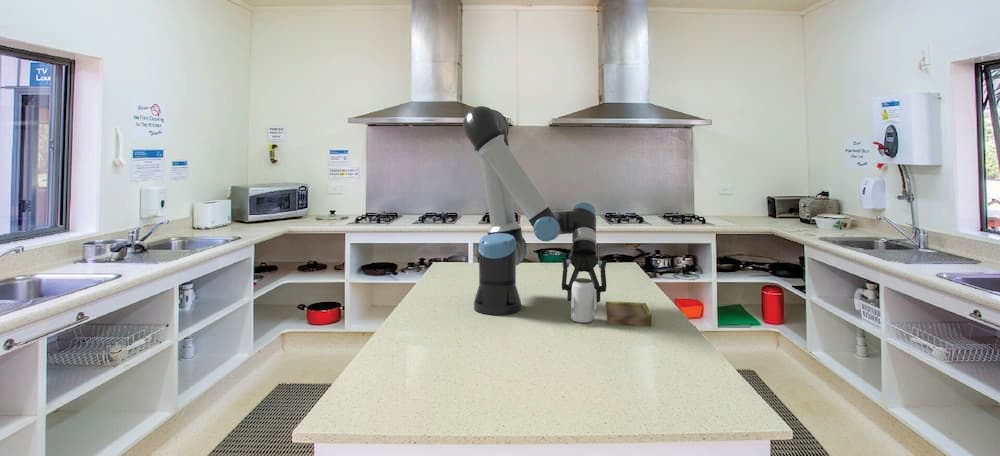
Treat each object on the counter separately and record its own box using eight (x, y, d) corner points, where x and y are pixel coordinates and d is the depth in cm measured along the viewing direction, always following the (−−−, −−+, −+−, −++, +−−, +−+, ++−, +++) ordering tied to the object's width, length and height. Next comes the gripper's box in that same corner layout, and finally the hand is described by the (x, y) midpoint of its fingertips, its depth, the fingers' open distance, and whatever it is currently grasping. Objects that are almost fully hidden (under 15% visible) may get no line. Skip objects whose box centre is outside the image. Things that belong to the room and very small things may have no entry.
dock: (608, 324, 143) (608, 312, 143) (605, 312, 155) (605, 301, 154) (651, 326, 141) (651, 314, 141) (645, 314, 153) (645, 302, 153)
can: (570, 322, 145) (571, 282, 143) (571, 316, 151) (572, 277, 149) (593, 324, 143) (594, 283, 142) (593, 317, 150) (594, 278, 148)
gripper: (613, 253, 159) (615, 318, 145) (554, 251, 161) (551, 315, 147) (615, 239, 153) (618, 305, 139) (554, 237, 155) (550, 302, 141)
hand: (583, 310), depth 143 cm, fingers closed on can, 6 cm apart
